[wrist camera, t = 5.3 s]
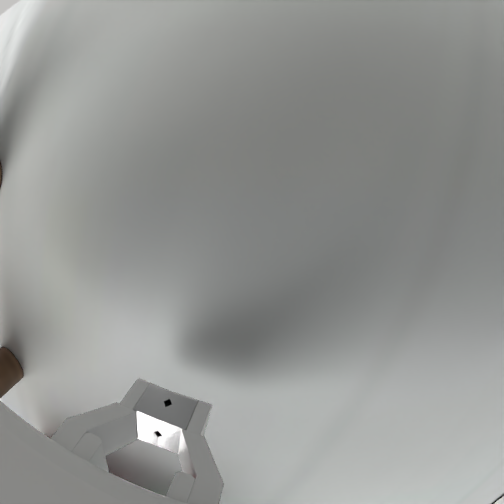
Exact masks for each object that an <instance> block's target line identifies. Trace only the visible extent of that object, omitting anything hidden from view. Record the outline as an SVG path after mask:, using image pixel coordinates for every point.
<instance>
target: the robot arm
mask: <svg viewBox="0 0 504 504" xmlns="http://www.w3.org/2000/svg"><path fill="white" fill-rule="evenodd" d="M211 408H212V404H209V403H206V402H203V401H200V400H197V399H194V398H191V397H188V396H185V395H182V394H179V393H176V392H172V391H169V390H167V389H164V388H162V387H159V386H157V385H155V384H152V383H149V382H147V381H145V380H142V379H140V378H139V379H138V380H136V381H135V383H134V384H133V386H132V387H131V388H130V390H129V391H128V393H127V394H126V395H125V397H124V398H123V400H122V401H121V402H120V404H119V403H113V404H110V405H107V406H104V407H101V408H98V409H95V410H92V411H89V412H86V413H83V414H80V415H76V416H73V417H70V418H67V419H66V420H65V422H64V423H63V424H62V425H61V426H60V428H59V429H58V430H57V431H56V432H55V434H54V435H53V436H52V437H51V438H49V437H47V436H46V435H44V434H43V433H41V432H40V431H39V430H37V429H36V428H34V427H33V426H32V425H30V424H29V423H27V422H26V421H25V420H23V419H22V418H21V417H20V416H18V415H17V414H16V413H14V412H13V411H12V410H11V409H10V408H8V407H7V406H6V405H5V404H4V403H2V402H1V401H0V504H219V501H220V497H221V493H222V489H223V486H224V483H223V480H222V478H221V476H220V473H219V471H218V469H217V466H216V464H215V461H214V459H213V457H212V454H211V452H210V449H209V447H208V444H207V441H206V439H205V436H204V434H205V430H206V427H207V423H208V420H209V416H210V412H211ZM137 438H138V439H140V440H143V441H145V442H148V443H150V444H153V445H156V446H158V447H161V448H163V449H166V450H168V451H171V452H174V453H176V454H178V457H179V461H180V464H181V468H182V472H177V473H175V475H174V478H173V480H172V482H171V485H170V487H169V489H168V491H167V494H166V496H164V495H161V494H158V493H155V492H153V491H150V490H148V489H145V488H143V487H140V486H138V485H136V484H133V483H131V482H129V481H126V480H124V479H122V478H120V477H118V476H116V475H114V474H112V473H109V469H108V465H107V461H106V457H105V456H106V455H108V454H110V453H112V452H114V451H116V450H118V449H120V448H122V447H124V446H126V445H128V444H130V443H132V442H133V441H135V440H137ZM494 504H504V496H503V497H502V498H500V499H499V500H498V501H496V502H495V503H494Z"/></svg>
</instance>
